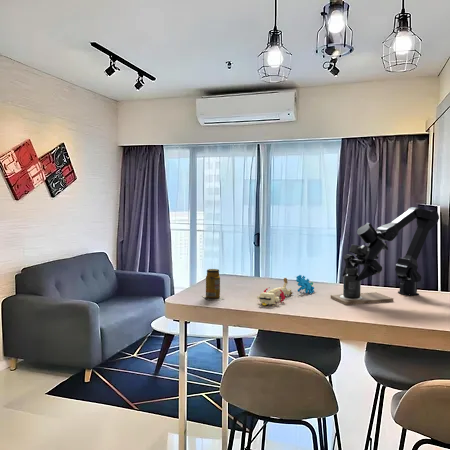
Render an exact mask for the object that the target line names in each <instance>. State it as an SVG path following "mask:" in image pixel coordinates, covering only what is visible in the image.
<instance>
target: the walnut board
mask: <svg viewBox="0 0 450 450" xmlns="http://www.w3.org/2000/svg"><path fill="white" fill-rule="evenodd" d="M330 299H331V300H334V301H336V302H338V303H340V304H342V305H345V306H348V305H362V304H363V305H364V304H377V303H378V304H379V303H389V302H390V303H392V302H394V298H392V297H391V296H388V295H385V294H382V293H379V292H376V291H375V292H373V291H372V292H360V298H357V299H350V298H345V297H344V296H343V294H342V293H341V294H331V295H330Z"/></svg>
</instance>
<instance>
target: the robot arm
mask: <svg viewBox="0 0 450 450" xmlns="http://www.w3.org/2000/svg"><path fill="white" fill-rule="evenodd" d="M415 219H416V226H417V227H416V230H415V233H414V235H413V237H412V239H411V242H410V244H409V246H408V248H407V251H406V253H405V255H404V256H403V257H399V258H397V262H396V264H395V265H394V266H395V267H394V269H395V270H394V271H395V273H396V276H397V279H399V280H400V283H399V290H398V291H397V293H399V294H401V295H403V296H407V297H408V296H418V295H420V293H418V283H420V282H421V280H422V275H421V274H420V273H419V272H418V269H419V266H418V258H419V255H420V254H421V251H422V249H423V247H424V245H425V241H426V239H427V236H428V234H429V232H430V231H431V230H432V229H433V228H434V227H436V225H437V224H438V221H439V220H440V215H439V212H437V211H436V210H431V209H430V210H427V209H423V208H421V207H415V206H414V207H408V209H407V210H406V211H405V212H403V213H402V214H401V215H399V216H398V217H396V218H395V219H394V220H392V221H391V222H389V223H386V224H382V225H380V226H379V227H377V228H376V229H375V228H374V227H373V225H372V223H371V222H366V223H365V224H363V225H361V226H360V227H358V229H357V230H356V234H357V235H358V236H359V237H360V239H361V240H362V241H363V243H365V244H367V245H365V244H362V245H361V246H360V245H357V244H351V246H350V247H349V251H348V252H349V254H348V253H347V254H345V255H344V256H343V259H342V260H343V261H344V262H345V266H344V270H343V272H342V278H344V275H346V274H347V273H346V268H358V267H359V266H363V269H362V270H361V272H359V274H358V275H359V276H358V278H357V281H361V282H362V281H363V280H366V279H367V278H370V277H372V276H374V275H377V274H379V275H380V274H381V273H382V271H383V266H382V265H381V264H380V262H379V261H378V259H379V256H378V255H379V254H380V253H381V252H382V251H383V250H384V251H385V250H386V251H388V250H389V246H388V243H385V242H384V241H386V242H392V241H394V240H395V239H396V237H397V236H398V235H399V232H400V231H401V230H402V229H404V228H405V227H406V226H407V225H408V224H410V223H411V222H413V221H414V220H415ZM350 253H352V254H350ZM353 254H354V255H353Z"/></svg>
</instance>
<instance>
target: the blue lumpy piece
mask: <svg viewBox="0 0 450 450" xmlns="http://www.w3.org/2000/svg"><path fill="white" fill-rule="evenodd" d="M295 281H296V283H297V286H298V287H299V288H298V289H297V293H298V292H300V291H304V292H305V293H306V294H310V295H311V294H313V293H314V292H315V290H314V289H315V287H314V286H313V284H314V282H313V281H311V282H310V278H306V276H305V275H302V274H299V275H297V276H296V280H295Z"/></svg>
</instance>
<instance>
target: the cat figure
mask: <svg viewBox="0 0 450 450" xmlns="http://www.w3.org/2000/svg"><path fill="white" fill-rule="evenodd" d="M283 282H284V283H283V286H282V287H280V286H279V287H275V288H272V289H271V290H269V291H268V289H270V286H269V287H267V288H265V289H264V290H263V292H261V293H260V294H259V295H258V296H256V299H257V300H259V302H260V304H262V306H267V305H275V304H277V303H278V302H280V303H282V302H284V300H285V299H286V296H292V295H293V294H294V293H293V291H292V289H291V288H288V289H287V286H288V278H287V277H283ZM279 296H280V297H279ZM276 302H277V303H276Z"/></svg>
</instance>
